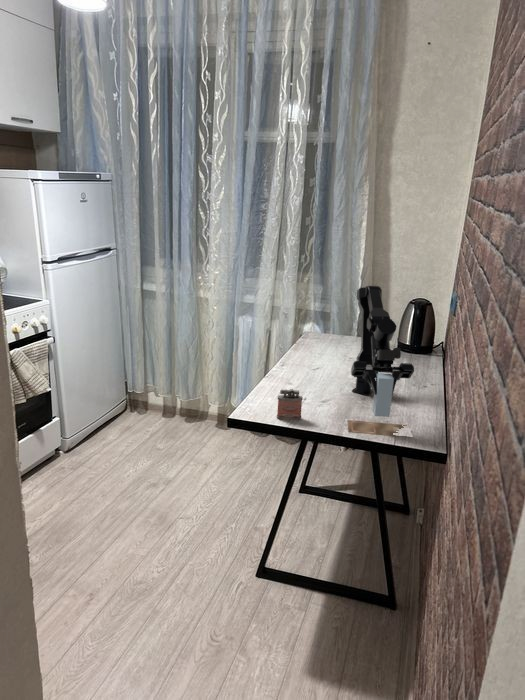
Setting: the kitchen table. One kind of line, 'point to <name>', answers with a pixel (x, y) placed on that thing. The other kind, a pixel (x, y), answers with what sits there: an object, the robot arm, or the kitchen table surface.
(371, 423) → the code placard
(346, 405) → the kitchen table surface
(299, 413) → the lighter
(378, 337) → the robot arm
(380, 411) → the tall block
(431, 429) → the kitchen table surface
